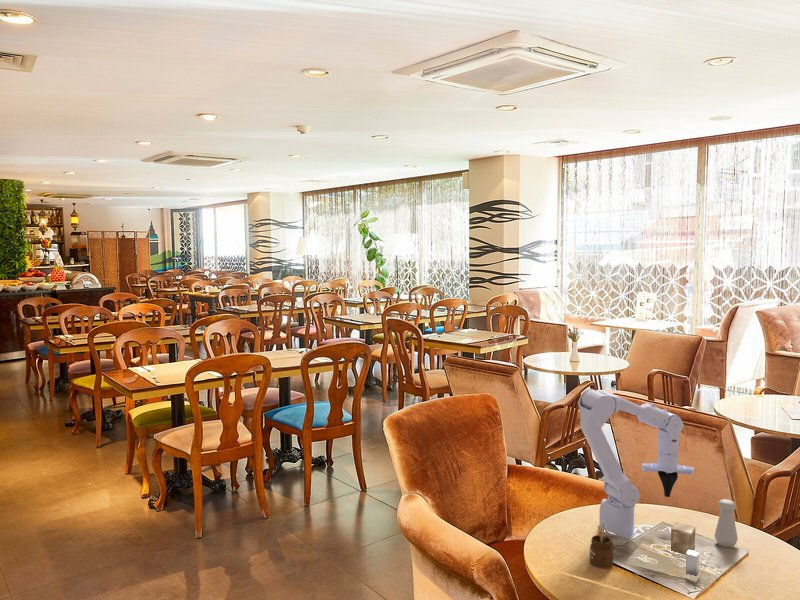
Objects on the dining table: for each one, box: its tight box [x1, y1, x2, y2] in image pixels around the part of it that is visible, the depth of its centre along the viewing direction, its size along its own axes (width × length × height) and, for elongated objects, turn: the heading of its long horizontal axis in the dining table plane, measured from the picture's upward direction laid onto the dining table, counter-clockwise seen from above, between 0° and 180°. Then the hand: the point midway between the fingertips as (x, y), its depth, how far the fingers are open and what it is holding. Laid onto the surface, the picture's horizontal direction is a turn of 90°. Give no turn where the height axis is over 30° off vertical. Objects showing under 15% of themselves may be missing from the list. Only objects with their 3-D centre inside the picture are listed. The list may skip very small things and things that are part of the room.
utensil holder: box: [589, 522, 614, 569], centre depth 172 cm, size 6×6×12 cm
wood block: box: [670, 521, 696, 555], centre depth 179 cm, size 5×5×7 cm
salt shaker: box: [714, 499, 739, 548], centre depth 182 cm, size 6×6×13 cm
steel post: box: [686, 550, 699, 576], centre depth 166 cm, size 3×3×6 cm
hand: (667, 495), depth 195 cm, fingers closed
